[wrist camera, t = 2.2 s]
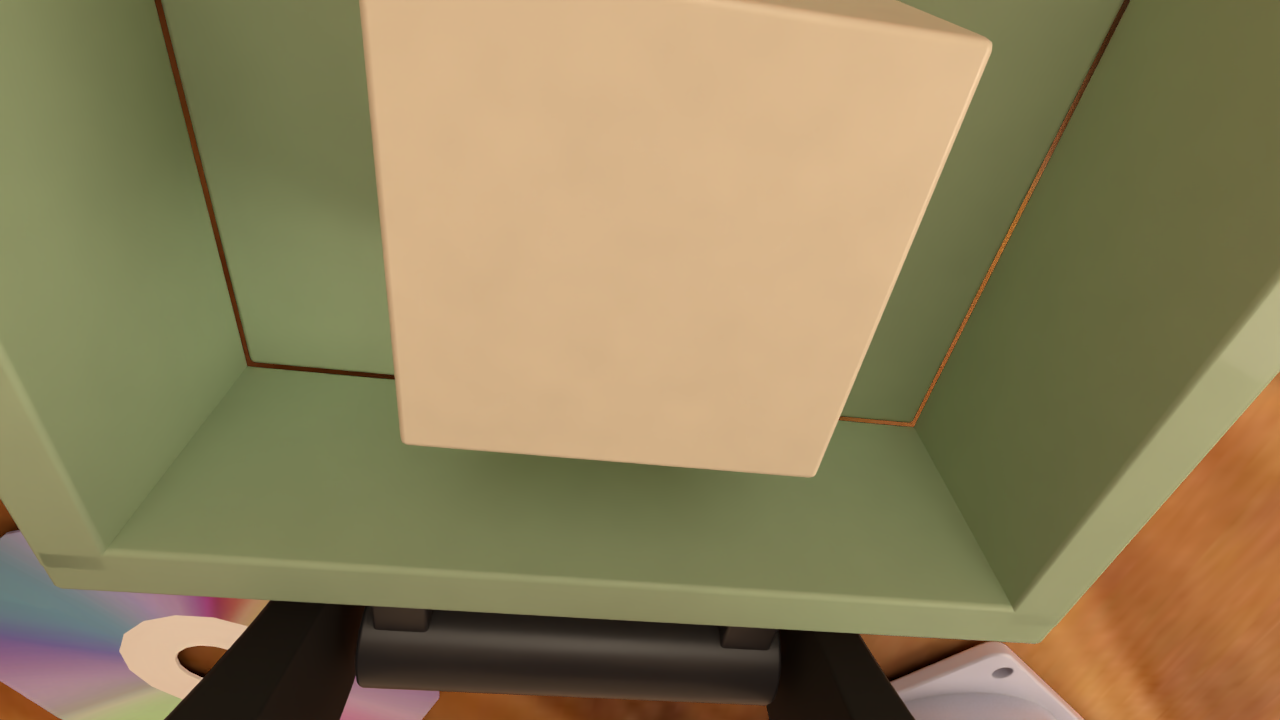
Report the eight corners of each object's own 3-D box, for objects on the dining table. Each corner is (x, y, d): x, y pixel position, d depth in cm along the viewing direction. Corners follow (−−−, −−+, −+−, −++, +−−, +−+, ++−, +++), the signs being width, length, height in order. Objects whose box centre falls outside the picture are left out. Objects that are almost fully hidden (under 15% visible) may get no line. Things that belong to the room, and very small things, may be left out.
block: (750, 282, 10) (815, 481, 6) (474, 251, 9) (399, 447, 6) (834, -27, 7) (1002, 41, 4) (472, -87, 7) (347, -64, 4)
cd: (472, 757, 20) (472, 760, 20) (98, 769, 20) (96, 772, 20) (389, 506, 13) (388, 508, 13) (-172, 519, 13) (-175, 522, 13)
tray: (866, 536, 14) (948, 750, 11) (264, 493, 13) (132, 719, 10) (1289, -276, 7) (2006, -447, 3) (-27, -570, 6) (-1155, -1366, 2)
